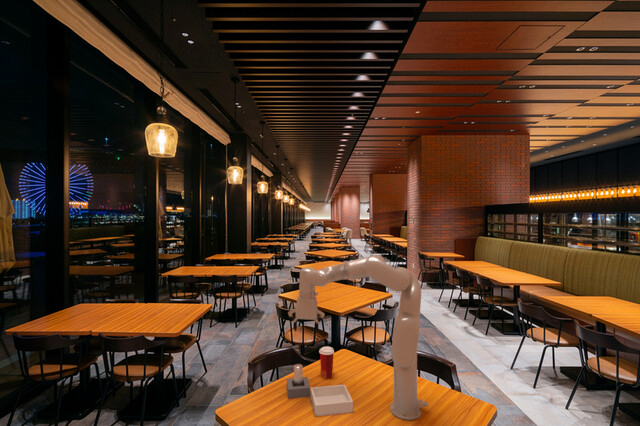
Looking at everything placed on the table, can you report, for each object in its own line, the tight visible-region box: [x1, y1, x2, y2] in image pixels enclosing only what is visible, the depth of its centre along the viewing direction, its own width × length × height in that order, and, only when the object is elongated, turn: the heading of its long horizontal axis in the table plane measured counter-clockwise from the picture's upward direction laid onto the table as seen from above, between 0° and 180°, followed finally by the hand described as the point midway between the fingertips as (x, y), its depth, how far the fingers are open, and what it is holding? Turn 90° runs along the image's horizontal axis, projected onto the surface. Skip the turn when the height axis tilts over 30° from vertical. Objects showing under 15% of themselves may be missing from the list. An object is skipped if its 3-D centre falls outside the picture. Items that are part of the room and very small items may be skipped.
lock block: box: [286, 376, 311, 400], centre depth 147 cm, size 10×10×4 cm
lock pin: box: [293, 363, 303, 387], centre depth 147 cm, size 4×4×12 cm
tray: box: [310, 384, 354, 417], centre depth 137 cm, size 16×14×4 cm
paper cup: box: [318, 346, 335, 380], centre depth 162 cm, size 8×8×14 cm
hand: (305, 330), depth 148 cm, fingers open, 9 cm apart
